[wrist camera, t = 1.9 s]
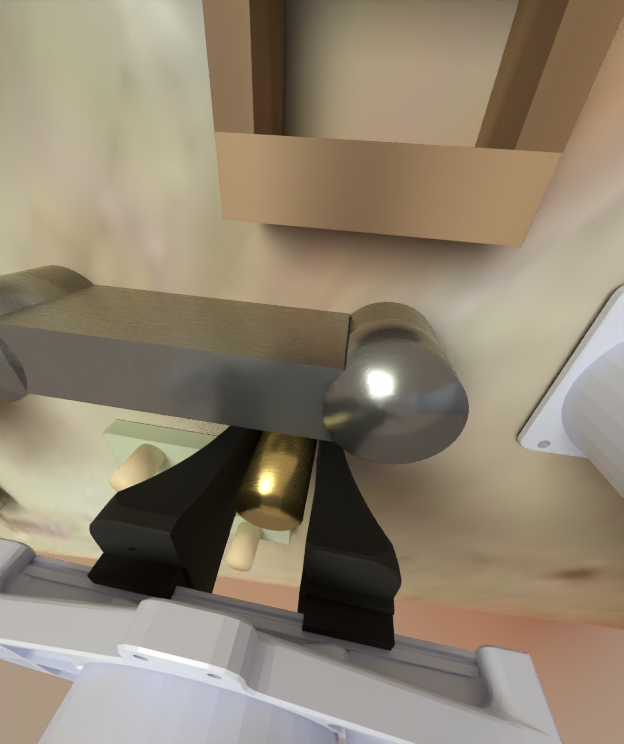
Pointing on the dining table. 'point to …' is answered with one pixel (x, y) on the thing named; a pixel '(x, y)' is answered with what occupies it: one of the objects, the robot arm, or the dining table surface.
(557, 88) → the slot block
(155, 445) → the rack
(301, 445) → the pin
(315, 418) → the ball-knob grey rod
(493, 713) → the robot arm
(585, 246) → the dining table surface
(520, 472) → the dining table surface
